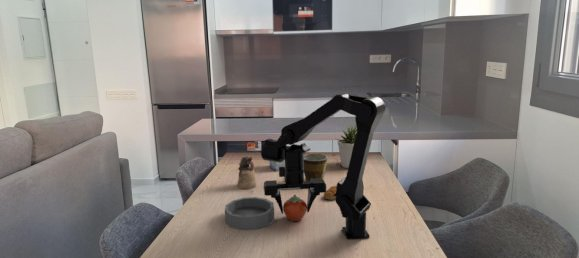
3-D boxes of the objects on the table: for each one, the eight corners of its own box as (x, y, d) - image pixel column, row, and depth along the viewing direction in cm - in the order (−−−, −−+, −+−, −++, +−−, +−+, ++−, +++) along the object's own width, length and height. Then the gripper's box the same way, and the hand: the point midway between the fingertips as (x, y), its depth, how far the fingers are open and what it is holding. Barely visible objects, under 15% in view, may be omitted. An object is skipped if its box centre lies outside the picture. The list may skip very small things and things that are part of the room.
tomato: (307, 214, 126) (307, 190, 124) (306, 224, 119) (306, 199, 117) (284, 213, 127) (284, 189, 125) (281, 223, 120) (281, 199, 118)
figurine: (246, 181, 156) (245, 152, 154) (260, 185, 152) (259, 155, 150) (234, 187, 151) (232, 157, 148) (248, 190, 147) (247, 159, 144)
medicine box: (269, 166, 175) (268, 147, 173) (278, 165, 177) (278, 146, 175) (276, 171, 168) (275, 152, 166) (285, 170, 170) (285, 150, 168)
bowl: (275, 228, 117) (275, 215, 116) (224, 231, 115) (223, 218, 115) (272, 207, 131) (272, 196, 131) (227, 209, 130) (226, 198, 129)
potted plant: (329, 165, 175) (329, 121, 171) (354, 160, 182) (355, 117, 177) (346, 172, 165) (346, 126, 160) (372, 167, 171) (373, 122, 167)
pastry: (333, 203, 135) (333, 192, 134) (318, 197, 139) (318, 187, 139) (350, 196, 141) (350, 185, 140) (336, 191, 146) (336, 181, 145)
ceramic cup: (329, 178, 158) (330, 154, 156) (323, 187, 149) (323, 161, 147) (299, 175, 163) (299, 152, 160) (291, 183, 153) (290, 158, 151)
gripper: (320, 155, 128) (320, 200, 131) (262, 158, 126) (264, 204, 129) (326, 166, 117) (326, 215, 120) (263, 169, 115) (265, 218, 118)
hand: (295, 212), depth 122 cm, fingers open, 8 cm apart
